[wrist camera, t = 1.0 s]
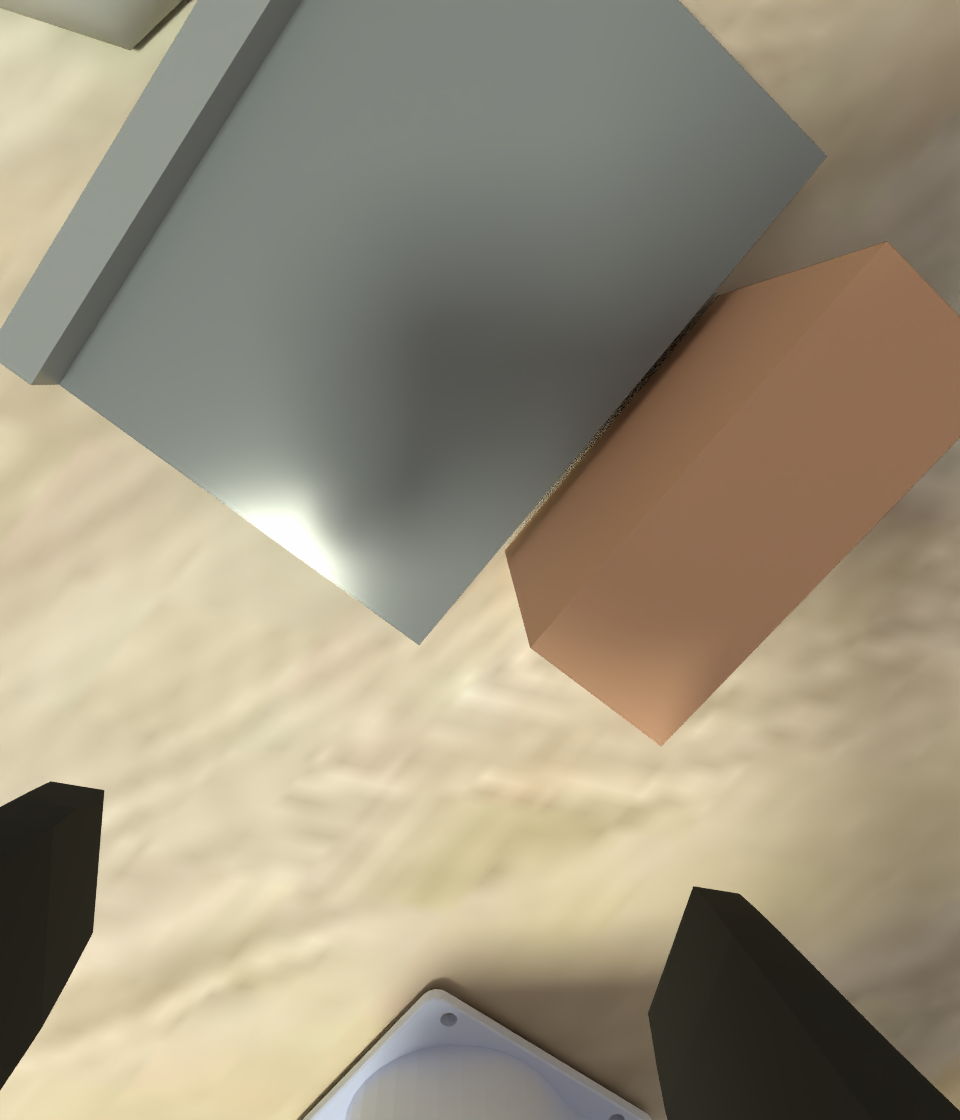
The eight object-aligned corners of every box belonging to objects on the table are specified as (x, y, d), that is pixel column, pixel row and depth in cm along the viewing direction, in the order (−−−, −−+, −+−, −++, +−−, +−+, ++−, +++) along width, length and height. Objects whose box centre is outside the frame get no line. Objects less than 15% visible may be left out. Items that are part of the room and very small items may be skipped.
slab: (803, 378, 16) (1017, 377, 10) (590, 617, 18) (661, 746, 12) (717, 295, 16) (887, 241, 10) (504, 550, 17) (530, 647, 11)
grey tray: (799, 173, 15) (854, 140, 13) (421, 627, 18) (416, 661, 16) (413, -226, 13) (403, -343, 11) (50, 356, 16) (-14, 353, 14)
